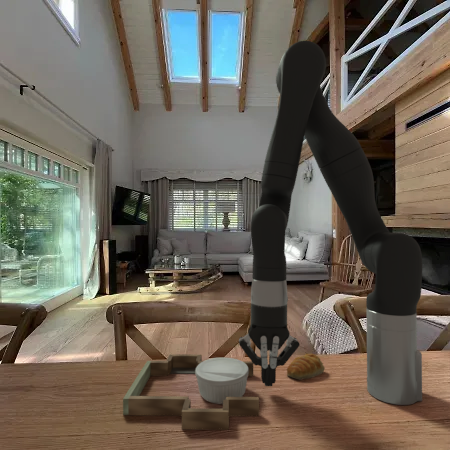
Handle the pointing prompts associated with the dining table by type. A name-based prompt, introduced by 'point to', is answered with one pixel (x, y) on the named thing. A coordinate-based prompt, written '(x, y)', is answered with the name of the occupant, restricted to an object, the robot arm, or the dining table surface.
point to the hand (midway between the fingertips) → (268, 384)
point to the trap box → (185, 397)
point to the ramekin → (221, 379)
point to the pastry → (305, 367)
